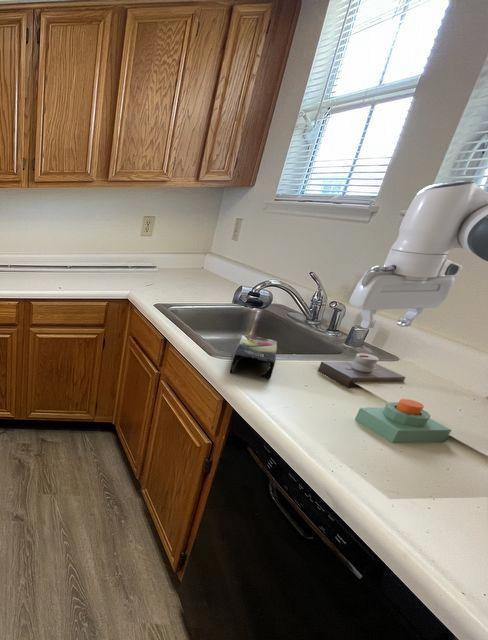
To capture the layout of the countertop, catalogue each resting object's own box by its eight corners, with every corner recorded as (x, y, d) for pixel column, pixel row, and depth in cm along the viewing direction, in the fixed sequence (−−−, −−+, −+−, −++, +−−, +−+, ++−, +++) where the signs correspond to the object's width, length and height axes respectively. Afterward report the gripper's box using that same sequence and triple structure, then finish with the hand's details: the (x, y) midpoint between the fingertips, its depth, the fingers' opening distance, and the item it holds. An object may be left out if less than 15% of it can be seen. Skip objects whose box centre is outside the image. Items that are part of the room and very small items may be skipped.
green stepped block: (402, 418, 92) (412, 399, 90) (444, 442, 84) (456, 421, 81) (354, 419, 91) (363, 399, 89) (391, 443, 83) (402, 422, 81)
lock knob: (362, 365, 110) (368, 351, 109) (377, 372, 106) (383, 358, 105) (346, 365, 110) (352, 352, 108) (360, 372, 106) (367, 358, 104)
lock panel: (366, 370, 114) (371, 360, 113) (400, 387, 105) (406, 376, 104) (317, 371, 114) (321, 360, 112) (347, 388, 105) (352, 377, 103)
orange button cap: (407, 407, 87) (411, 398, 86) (424, 416, 84) (429, 407, 83) (390, 407, 87) (395, 398, 86) (407, 416, 84) (411, 407, 83)
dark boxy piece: (235, 349, 127) (240, 330, 124) (272, 357, 122) (279, 337, 119) (227, 373, 112) (233, 353, 109) (269, 383, 107) (277, 362, 104)
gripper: (383, 269, 84) (356, 333, 90) (469, 267, 87) (438, 330, 93) (355, 263, 90) (331, 323, 96) (436, 261, 92) (409, 321, 98)
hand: (384, 326), depth 94 cm, fingers open, 8 cm apart
